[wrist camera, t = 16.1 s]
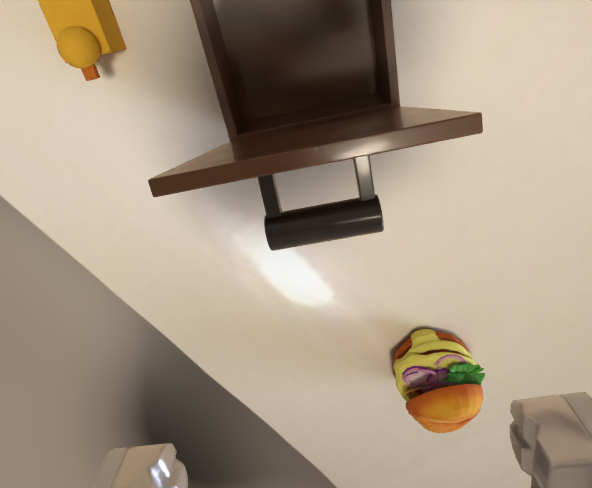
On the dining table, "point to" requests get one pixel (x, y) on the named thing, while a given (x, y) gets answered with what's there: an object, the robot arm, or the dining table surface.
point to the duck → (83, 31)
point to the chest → (297, 61)
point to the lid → (316, 151)
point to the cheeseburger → (438, 380)
